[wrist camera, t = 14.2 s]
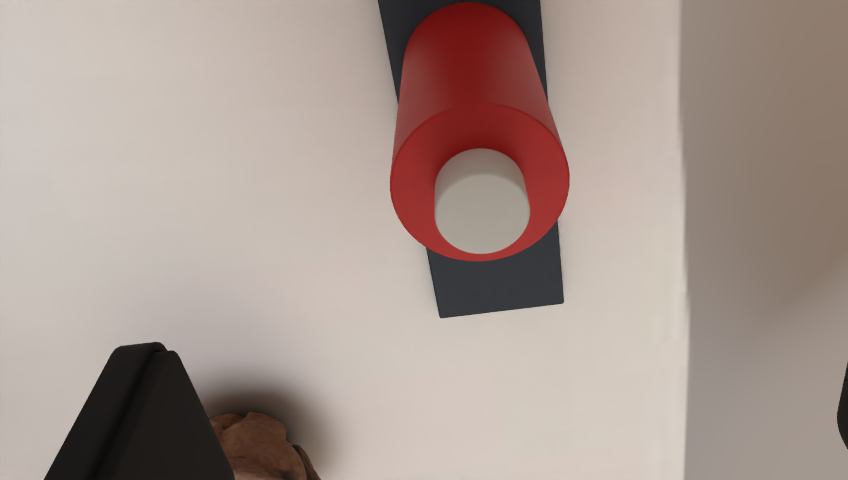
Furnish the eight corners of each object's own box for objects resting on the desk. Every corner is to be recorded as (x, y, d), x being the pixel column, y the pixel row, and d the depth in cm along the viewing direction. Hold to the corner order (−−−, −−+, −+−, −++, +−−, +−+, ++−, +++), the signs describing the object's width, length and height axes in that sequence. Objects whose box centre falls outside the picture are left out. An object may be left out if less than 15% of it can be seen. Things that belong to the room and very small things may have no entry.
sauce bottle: (392, 13, 22) (369, 142, 15) (524, -9, 22) (572, 112, 14) (414, 133, 24) (404, 302, 17) (535, 115, 24) (583, 280, 16)
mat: (319, -314, 19) (316, -316, 18) (509, -353, 18) (511, -357, 18) (439, 309, 29) (439, 319, 29) (562, 294, 29) (564, 304, 28)
